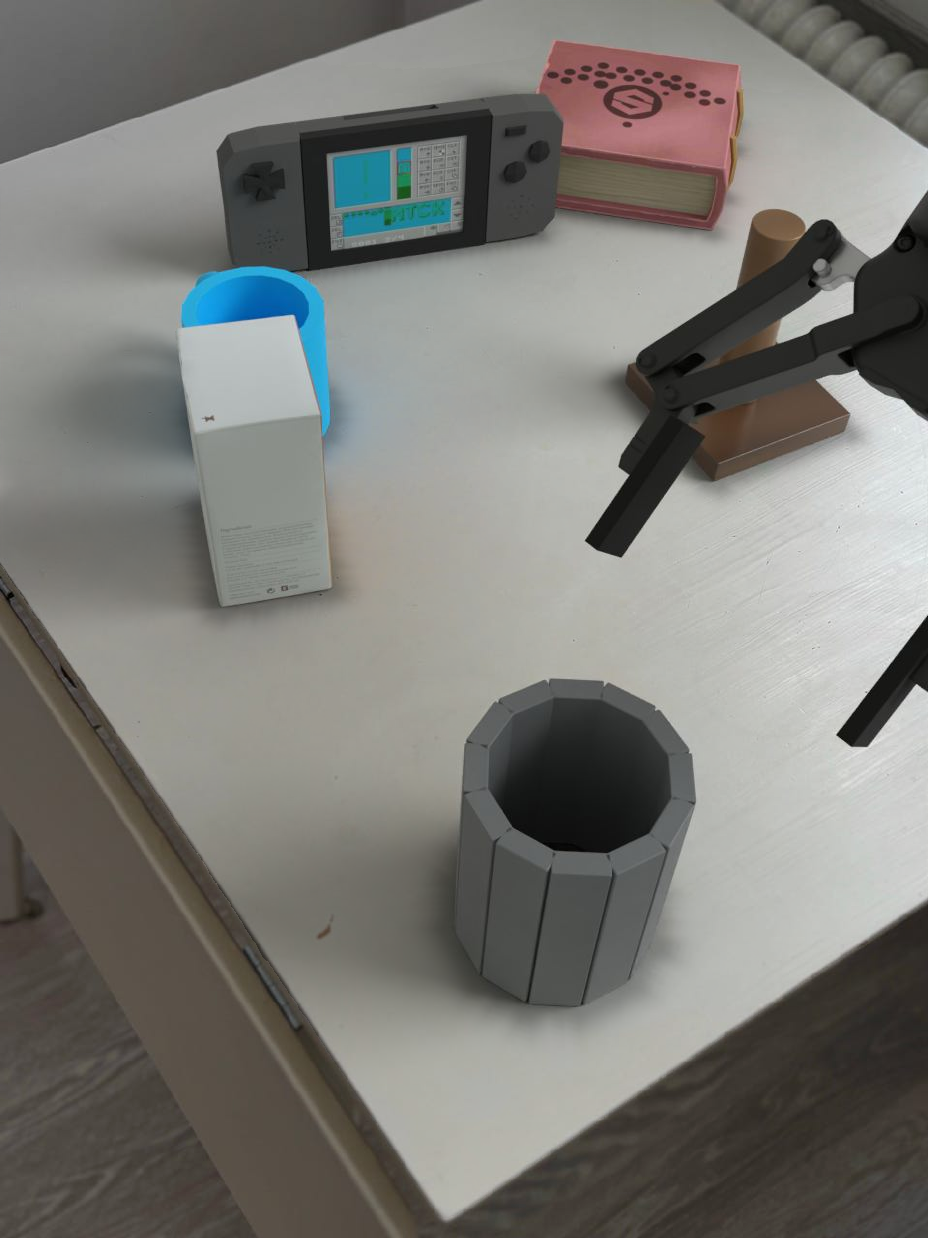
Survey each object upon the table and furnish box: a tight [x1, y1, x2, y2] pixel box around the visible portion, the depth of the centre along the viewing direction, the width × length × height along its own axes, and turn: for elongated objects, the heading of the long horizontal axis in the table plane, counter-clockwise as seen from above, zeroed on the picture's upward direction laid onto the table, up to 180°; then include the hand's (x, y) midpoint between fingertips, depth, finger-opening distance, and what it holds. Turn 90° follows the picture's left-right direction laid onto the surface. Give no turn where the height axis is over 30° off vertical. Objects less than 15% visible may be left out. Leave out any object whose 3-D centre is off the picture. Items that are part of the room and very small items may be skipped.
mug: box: [180, 266, 331, 437], centre depth 82 cm, size 12×8×8 cm
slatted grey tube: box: [453, 677, 697, 1007], centre depth 59 cm, size 9×9×12 cm
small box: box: [175, 315, 333, 607], centre depth 72 cm, size 8×6×13 cm
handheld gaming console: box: [215, 93, 564, 272], centre depth 91 cm, size 23×3×10 cm, turn 107°
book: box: [535, 39, 745, 231], centre depth 101 cm, size 14×15×5 cm
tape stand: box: [624, 208, 851, 482], centre depth 81 cm, size 10×10×14 cm
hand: (720, 641), depth 57 cm, fingers open, 13 cm apart
